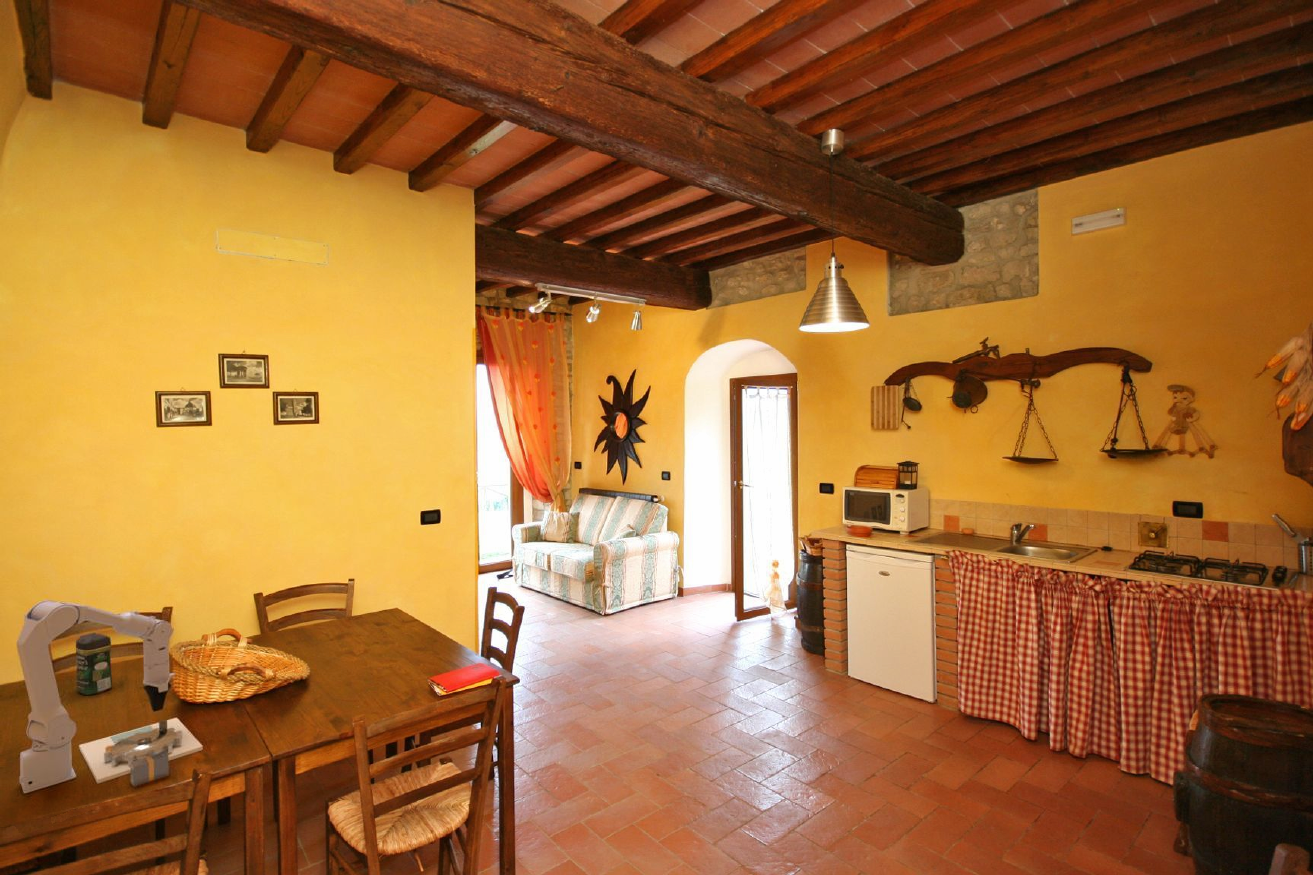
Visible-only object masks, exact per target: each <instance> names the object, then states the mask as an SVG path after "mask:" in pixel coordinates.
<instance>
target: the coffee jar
mask: <svg viewBox="0 0 1313 875" xmlns="http://www.w3.org/2000/svg"><path fill="white" fill-rule="evenodd" d="M111 649H112V641H111V637H110V636H109V635H105V634H102V633H96V632H92V633H87V634H83V635H80V636H79V637H78V638H77V639H76V641H75V654H76V655H75V656H76V691H77V692H78V693H80V694H83V695H87V696H89V695H94V694H101V693H104V692H106V691H107V690H109V689H112V687H113V679H112V665H111V664H112V662H111Z"/></svg>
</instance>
